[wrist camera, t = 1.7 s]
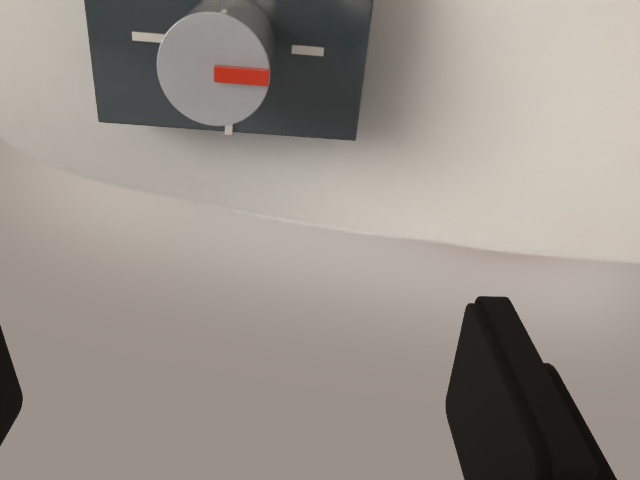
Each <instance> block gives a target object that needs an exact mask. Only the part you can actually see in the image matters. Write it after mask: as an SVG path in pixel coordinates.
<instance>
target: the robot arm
mask: <svg viewBox="0 0 640 480" xmlns="http://www.w3.org/2000/svg"><path fill="white" fill-rule="evenodd" d="M22 401H23V397H22V391H21V388H20V385H19V382H18V379H17V376H16V373H15V370H14V367H13V364H12V360H11V358H10V354H9V351H8V348H7V345H6V342H5V339H4V335H3V333H2V329H1V326H0V445H1V444H2V442H3V440H4V439H5V437H6V435H7V433H8V432H9V430H10V428H11V426H12V424H13V423H14V421H15V419H16V418H17V416H18V414H19V412H20V410H21V407H22ZM446 414H447V419H448V423H449V426H450V430H451V433H452V437H453V440H454V444H455V447H456V451H457V455H458V458H459V461H460V465H461V469H462V472H463V476H464V479H465V480H617V479H616V477H615V475H614V473H613V472H612V470H611V468H610V466H609V464H608V462H607V461H606V459H605V457H604V455H603V453H602V452H601V450H600V448H599V446H598V444H597V442H596V441H595V439H594V437H593V435H592V433H591V432H590V430H589V428H588V426H587V425H586V423H585V421H584V419H583V417H582V415H581V413H580V412H579V410H578V408H577V406H576V404H575V403H574V401H573V399H572V397H571V396H570V393H569V392H568V390H567V389H566V386H565V384H564V383H563V381H562V379H561V377H560V375H559V373H558V372H557V371H556V369H555V368H554V366H552V365H551V364H549V363H543V362H542V359H541V358H540V356H539V354H538V352H537V350H536V348H535V346H534V344H533V343H532V341H531V339H530V337H529V335H528V333H527V331H526V329H525V327H524V326H523V324H522V322H521V320H520V318H519V316H518V314H517V312H516V311H515V309H514V307H513V305H512V303H511V301H510V300H509V298H507V297H487V296H482V297H481V296H480V297H477V299H476V301H475V303H471V304H470V303H469V304H468V305H467V306H466V309H465V314H464V318H463V323H462V327H461V332H460V337H459V341H458V346H457V350H456V355H455V360H454V364H453V369H452V373H451V378H450V383H449V387H448V392H447V396H446Z"/></svg>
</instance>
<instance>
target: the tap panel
mask: <svg viewBox="0 0 640 480" xmlns="http://www.w3.org/2000/svg"><path fill="white" fill-rule="evenodd" d="M201 1H202V0H84V2H85V11H86V19H87V27H88V36H89V44H90V53H91V61H92V70H93V78H94V87H95V95H96V104H97V112H98V121H99V122H105V123H119V124H132V125H146V126H160V127H174V128H187V129H201V130H215V131H225V135H233V132H242V133H256V134H270V135H284V136H297V137H311V138H325V139H339V140H352V141H355V140H356V134H357V126H358V118H359V110H360V102H361V94H362V86H363V78H364V70H365V62H366V54H367V46H368V38H369V30H370V22H371V14H372V6H373V0H250V1H251V2H253V3H254V4H255V5H257V6H258V7H259V8H260V9H261V10H262V11H263V12H264V14H265V15H266V17H267V18H268V20H269V22H270V23H271V26H272V28H273V32H274V35H275V45H276V48H275V56H274V62H273V67H272V72H271V78H270V83H269V87H268V91H267V94H266V96H265V98H264V100H263V102H262V104H261V105H260V106H259V108H258V109H257V110H256V111H255V112H254V113H253V114H252V115H250V116H249V117H248V118H246V119H244V120H242V121H240V122H238V123H235V124H231V125H226V126H211V125H205V124H201V123H199V122H196V121H193V120H192V119H190V118H188V117H186V116H185V115H183V114H182V113H181V112H179V111H178V110H177V109H176V108H175V107H174V106H173V105H172V104H171V102H170V101H169V100H168V98H167V97H166V95H165V93H164V91H163V90H162V87H161V85H160V82H159V78H158V74H157V54H158V50H159V46H160V43H161V41H162V39H163V37H164V36H165V34H166V32H167V31H168V30H169V29H170V28H171V26H173V25H174V24H175V23H176V22H177V21H178V20H180V19H181V18H182V17H183V16H184V15H185V14H186V13H188V12H189V11H190V10H191V9H192V8H193V7H195V6H196V5H197V4H198V3H199V2H201Z"/></svg>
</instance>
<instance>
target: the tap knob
mask: <svg viewBox="0 0 640 480" xmlns="http://www.w3.org/2000/svg"><path fill="white" fill-rule="evenodd" d="M275 48H276V45H275V35H274V32H273V28H272V26H271V23H270V22H269V20H268V18H267V17H266V15H265V14H264V12H263V11H262V10H261V9H260V8H259V7H258V6H257V5H255V4H254V3H253V2H251V1H250V0H202V1H201V2H199V3H198V4H197V5H196V6H195V7H193V8H192V9H191V10H190V11H189V12H188V13H186V14H185V15H184V16H183V17H182V18H181V19H180V20H178V21H177V22H176V23H175V24H174V25H173V26H171V28H170V29H169V30H168V31H167V32H166V34H165V36H164V37H163V39H162V41H161V43H160V46H159V50H158V54H157V74H158V78H159V82H160V85H161V87H162V90H163V91H164V93H165V95H166V97H167V98H168V100H169V101H170V102H171V104H172V105H173V106H174V107H175V108H176V109H177V110H178V111H179V112H181V113H182V114H183V115H185V116H186V117H188V118H190V119H192V120H193V121H196V122H199V123H201V124H205V125H211V126H226V125H231V124H235V123H238V122H240V121H242V120H244V119H246V118H248V117H249V116H250V115H252V114H253V113H254V112H255V111H256V110H257V109H258V108H259V106H260V105H261V104H262V102H263V100H264V98H265V96H266V94H267V91H268V87H269V83H270V78H271V72H272V67H273V62H274V56H275Z"/></svg>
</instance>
